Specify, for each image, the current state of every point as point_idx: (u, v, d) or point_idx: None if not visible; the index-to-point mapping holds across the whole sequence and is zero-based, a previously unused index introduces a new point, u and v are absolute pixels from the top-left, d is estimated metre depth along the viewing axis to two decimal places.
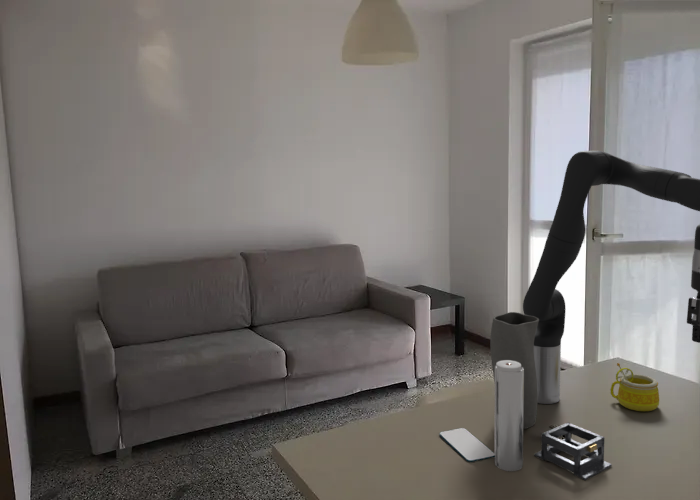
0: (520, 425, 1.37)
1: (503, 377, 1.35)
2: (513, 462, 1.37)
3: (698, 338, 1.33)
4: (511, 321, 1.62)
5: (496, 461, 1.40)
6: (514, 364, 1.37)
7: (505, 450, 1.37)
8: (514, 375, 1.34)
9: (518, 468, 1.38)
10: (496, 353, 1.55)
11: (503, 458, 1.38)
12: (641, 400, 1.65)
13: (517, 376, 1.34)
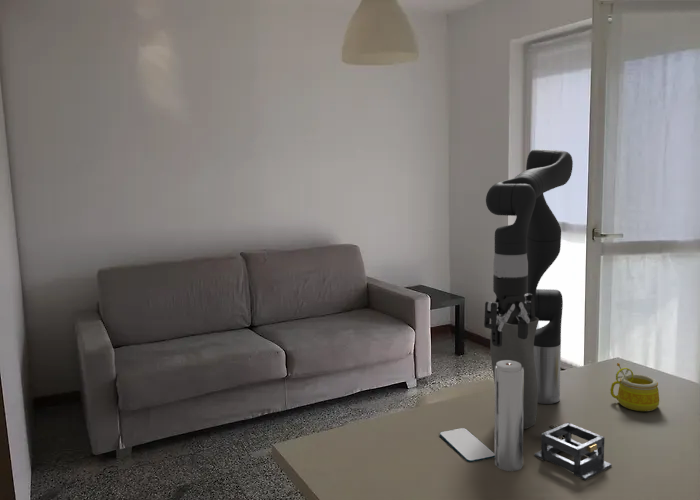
0: (520, 425, 1.37)
1: (503, 377, 1.35)
2: (513, 462, 1.37)
3: (496, 342, 1.33)
4: (511, 321, 1.62)
5: (496, 461, 1.40)
6: (514, 364, 1.37)
7: (505, 450, 1.37)
8: (514, 375, 1.34)
9: (518, 468, 1.38)
10: (496, 353, 1.55)
11: (503, 458, 1.38)
12: (641, 400, 1.65)
13: (517, 376, 1.34)
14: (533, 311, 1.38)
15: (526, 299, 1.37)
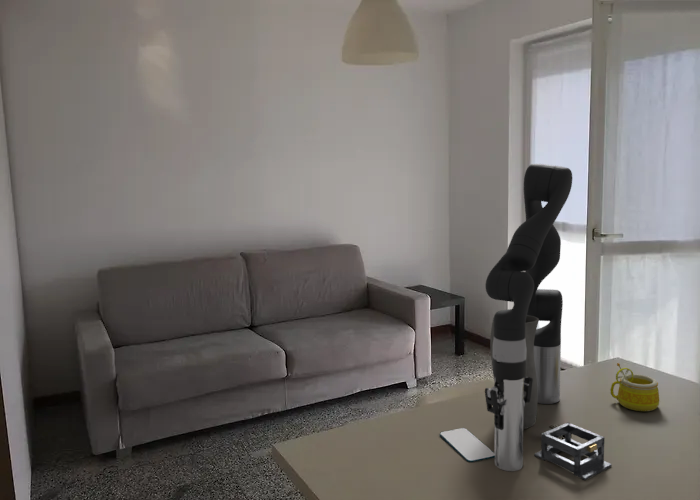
0: (520, 425, 1.37)
1: None
2: (513, 462, 1.37)
3: (498, 425, 1.36)
4: None
5: (496, 461, 1.40)
6: None
7: (505, 450, 1.37)
8: None
9: (518, 468, 1.38)
10: None
11: (503, 458, 1.38)
12: (641, 400, 1.65)
13: None
14: (529, 394, 1.41)
15: (524, 381, 1.40)
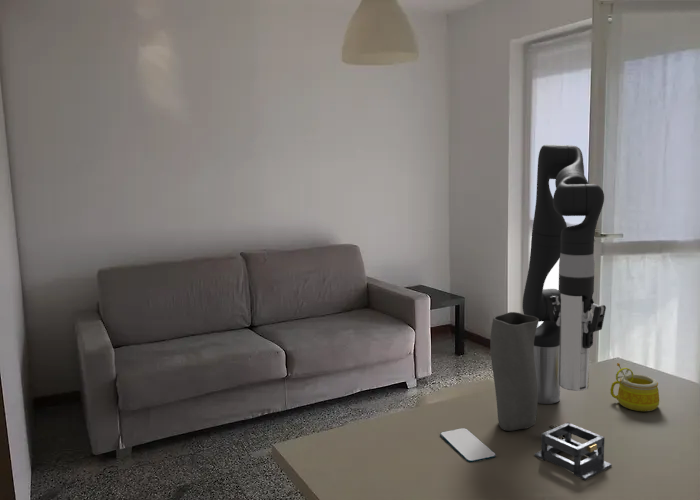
0: (567, 343, 1.35)
1: None
2: (560, 377, 1.38)
3: (558, 336, 1.40)
4: (511, 321, 1.62)
5: None
6: None
7: None
8: None
9: (563, 386, 1.37)
10: (496, 353, 1.55)
11: None
12: (641, 400, 1.65)
13: None
14: (594, 324, 1.31)
15: (593, 308, 1.31)
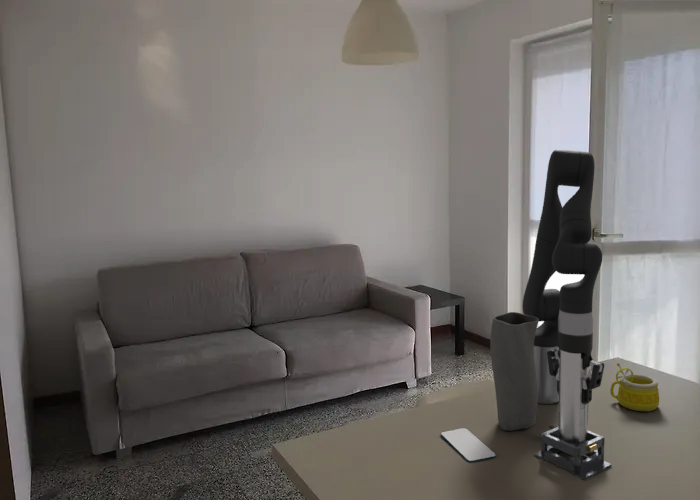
0: (566, 399, 1.37)
1: None
2: (559, 430, 1.40)
3: (557, 389, 1.42)
4: (511, 321, 1.62)
5: None
6: None
7: None
8: None
9: (563, 440, 1.39)
10: (496, 353, 1.55)
11: None
12: (641, 400, 1.65)
13: None
14: (593, 381, 1.33)
15: (592, 366, 1.33)
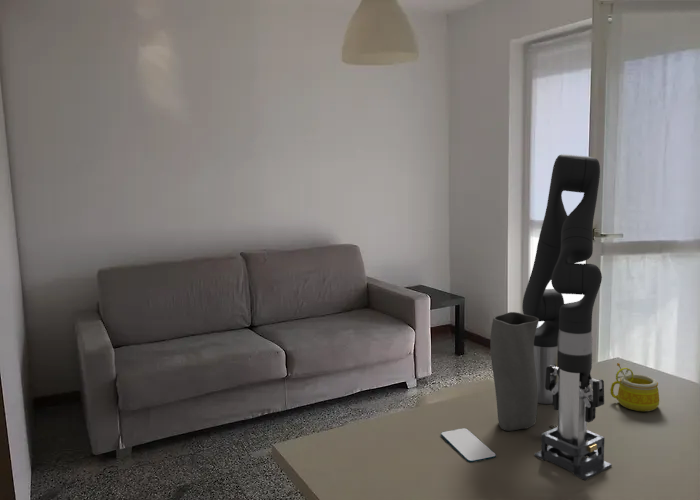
0: (565, 421, 1.38)
1: None
2: (558, 452, 1.41)
3: (553, 404, 1.43)
4: (511, 321, 1.62)
5: None
6: None
7: None
8: None
9: None
10: (496, 353, 1.55)
11: None
12: (641, 400, 1.65)
13: (562, 370, 1.37)
14: (595, 399, 1.33)
15: (592, 383, 1.34)
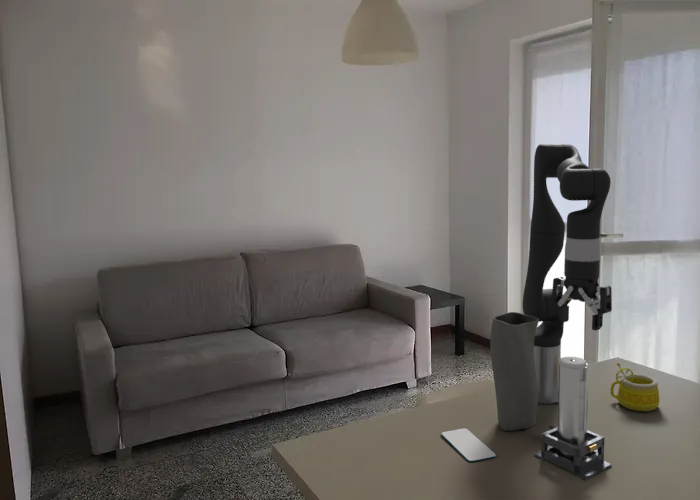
0: (565, 421, 1.38)
1: None
2: (558, 452, 1.41)
3: (559, 316, 1.42)
4: (511, 321, 1.62)
5: None
6: (573, 362, 1.37)
7: None
8: (560, 368, 1.38)
9: None
10: (496, 353, 1.55)
11: None
12: (641, 400, 1.65)
13: (562, 370, 1.37)
14: (603, 305, 1.31)
15: (599, 290, 1.32)
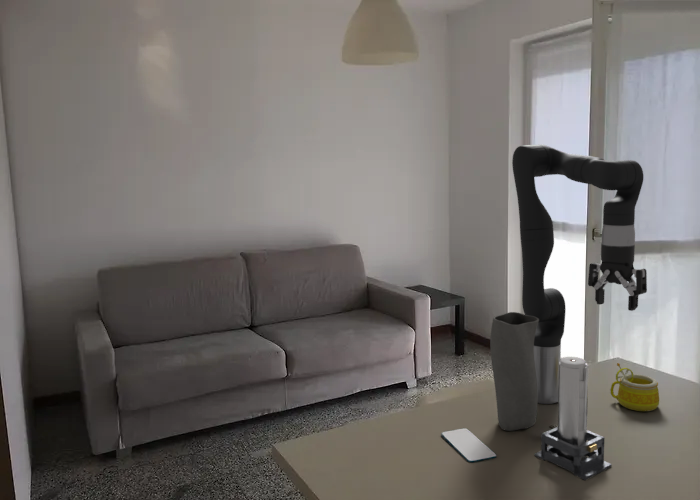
0: (565, 421, 1.38)
1: None
2: (558, 452, 1.41)
3: (595, 299, 1.52)
4: (511, 321, 1.62)
5: None
6: (573, 362, 1.37)
7: None
8: (560, 368, 1.38)
9: None
10: (496, 353, 1.55)
11: None
12: (641, 400, 1.65)
13: (562, 370, 1.37)
14: (639, 287, 1.41)
15: (635, 273, 1.42)
